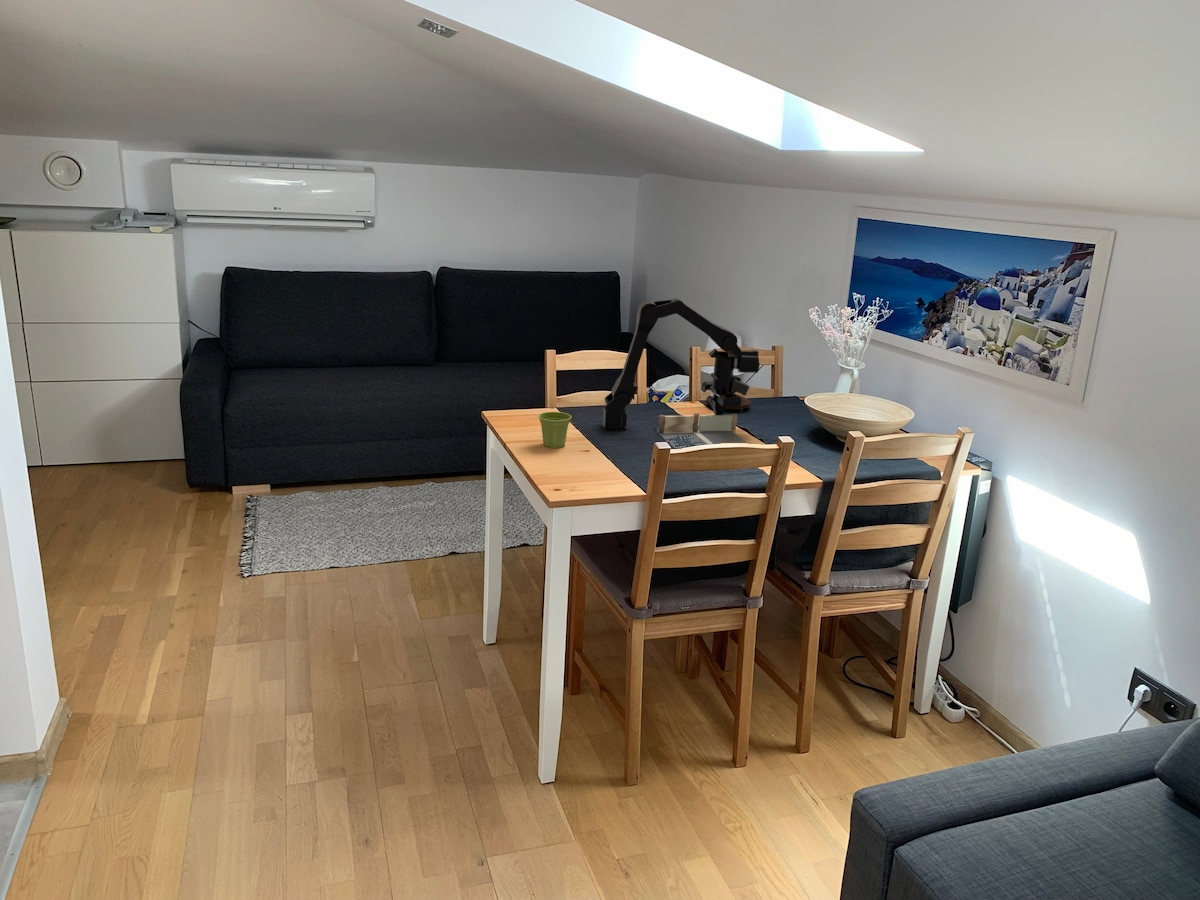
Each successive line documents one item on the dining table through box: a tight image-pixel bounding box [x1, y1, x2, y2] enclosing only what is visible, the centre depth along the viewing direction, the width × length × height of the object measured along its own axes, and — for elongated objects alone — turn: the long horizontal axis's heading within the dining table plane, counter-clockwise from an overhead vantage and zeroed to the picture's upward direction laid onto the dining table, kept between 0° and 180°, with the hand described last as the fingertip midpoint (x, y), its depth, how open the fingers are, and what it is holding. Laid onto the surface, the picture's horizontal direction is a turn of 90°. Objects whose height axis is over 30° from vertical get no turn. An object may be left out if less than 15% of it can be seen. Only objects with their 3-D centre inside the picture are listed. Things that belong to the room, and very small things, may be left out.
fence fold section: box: [698, 413, 738, 432], centre depth 284 cm, size 12×2×5 cm, turn 101°
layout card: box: [658, 425, 749, 449], centre depth 279 cm, size 24×21×1 cm
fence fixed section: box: [657, 412, 700, 434], centre depth 282 cm, size 13×2×6 cm, turn 105°
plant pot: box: [537, 411, 572, 449], centre depth 263 cm, size 9×9×9 cm
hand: (718, 420), depth 286 cm, fingers closed
